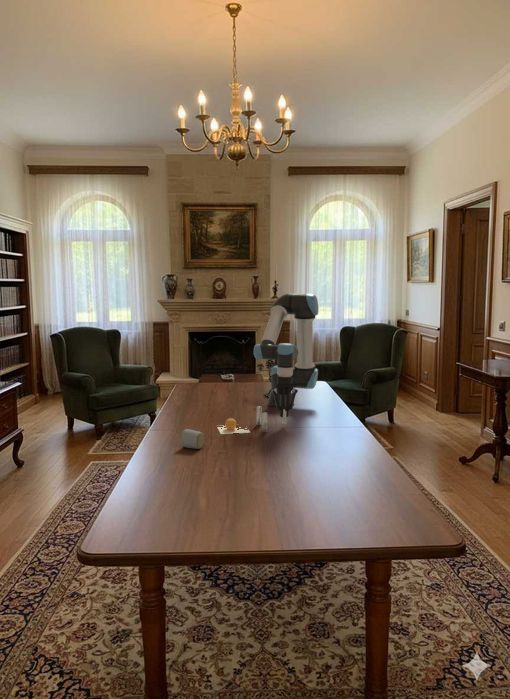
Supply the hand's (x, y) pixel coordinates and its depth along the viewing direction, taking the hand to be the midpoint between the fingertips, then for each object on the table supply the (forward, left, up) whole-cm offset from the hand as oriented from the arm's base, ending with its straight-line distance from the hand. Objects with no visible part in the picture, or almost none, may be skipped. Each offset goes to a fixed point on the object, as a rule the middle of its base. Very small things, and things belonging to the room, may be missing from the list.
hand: (283, 423), depth 244 cm
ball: (+26, +1, +1) cm, 26 cm away
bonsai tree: (-11, -68, -2) cm, 69 cm away
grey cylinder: (+46, +23, -2) cm, 51 cm away
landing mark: (+25, 0, -2) cm, 25 cm away
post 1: (+11, -6, -2) cm, 13 cm away
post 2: (+11, +6, -2) cm, 13 cm away
